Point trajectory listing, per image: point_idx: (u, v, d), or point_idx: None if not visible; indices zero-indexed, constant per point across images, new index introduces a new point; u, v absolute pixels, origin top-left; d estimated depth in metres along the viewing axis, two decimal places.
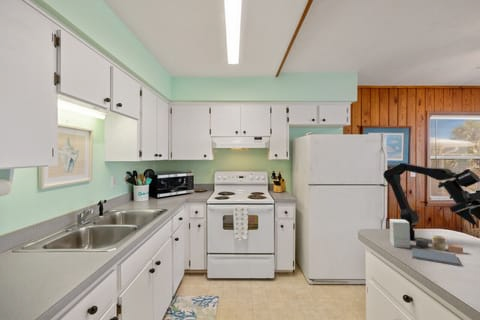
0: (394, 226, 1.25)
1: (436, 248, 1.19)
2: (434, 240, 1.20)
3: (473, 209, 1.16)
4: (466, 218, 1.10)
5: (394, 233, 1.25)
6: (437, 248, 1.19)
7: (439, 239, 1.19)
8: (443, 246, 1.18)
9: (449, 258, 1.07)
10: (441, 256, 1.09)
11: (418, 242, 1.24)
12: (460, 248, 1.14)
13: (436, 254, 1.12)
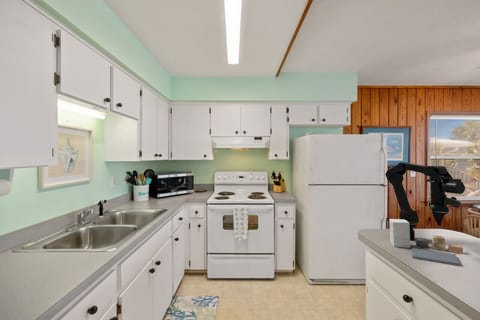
0: (394, 226, 1.25)
1: (436, 248, 1.19)
2: (434, 240, 1.20)
3: None
4: (436, 218, 1.16)
5: (394, 233, 1.25)
6: (437, 248, 1.19)
7: (439, 239, 1.19)
8: (443, 246, 1.18)
9: (449, 258, 1.07)
10: (441, 256, 1.09)
11: (418, 242, 1.24)
12: (460, 248, 1.14)
13: (436, 254, 1.12)
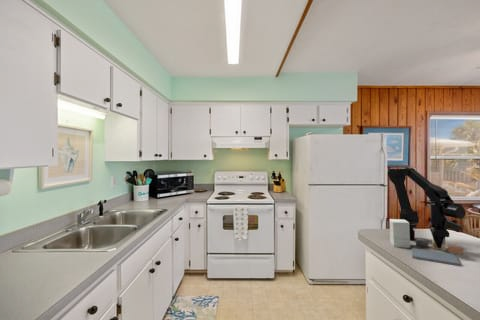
0: (394, 226, 1.25)
1: (436, 248, 1.19)
2: (434, 240, 1.20)
3: None
4: (436, 241, 1.18)
5: (394, 233, 1.25)
6: (437, 248, 1.19)
7: None
8: (443, 246, 1.18)
9: (449, 258, 1.07)
10: (441, 256, 1.09)
11: (418, 242, 1.24)
12: (460, 248, 1.14)
13: (436, 254, 1.12)
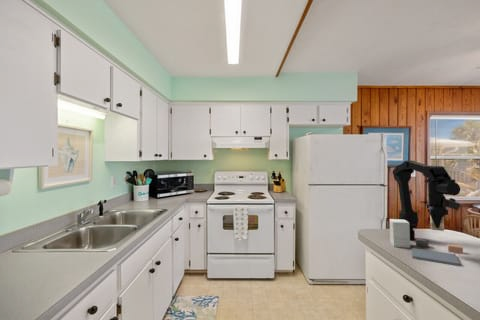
0: (394, 226, 1.25)
1: (434, 228, 1.14)
2: (432, 220, 1.15)
3: None
4: (435, 220, 1.13)
5: (394, 233, 1.25)
6: (435, 228, 1.14)
7: None
8: (442, 225, 1.13)
9: (449, 258, 1.07)
10: (441, 256, 1.09)
11: (418, 242, 1.24)
12: (460, 248, 1.14)
13: (436, 254, 1.12)
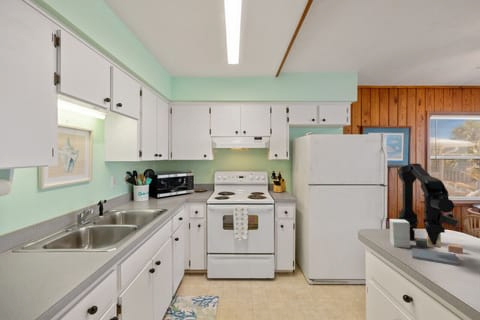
0: (394, 226, 1.25)
1: (431, 245, 1.09)
2: (428, 236, 1.10)
3: None
4: (431, 237, 1.08)
5: (394, 233, 1.25)
6: (432, 244, 1.09)
7: None
8: (438, 242, 1.08)
9: (449, 258, 1.07)
10: (441, 256, 1.09)
11: (418, 242, 1.24)
12: (460, 248, 1.14)
13: (436, 254, 1.12)
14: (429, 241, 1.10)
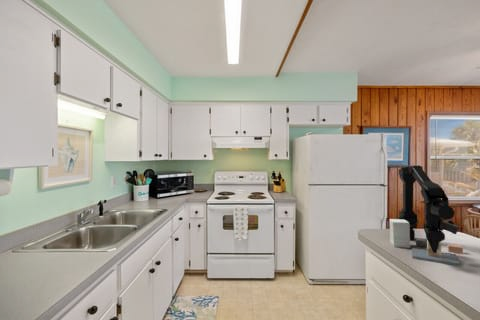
0: (394, 226, 1.25)
1: (431, 254, 1.09)
2: (429, 245, 1.10)
3: None
4: (432, 245, 1.06)
5: (394, 233, 1.25)
6: (432, 254, 1.09)
7: None
8: (439, 252, 1.08)
9: (449, 258, 1.07)
10: (441, 256, 1.09)
11: (418, 242, 1.24)
12: (460, 248, 1.14)
13: None
14: (429, 250, 1.10)
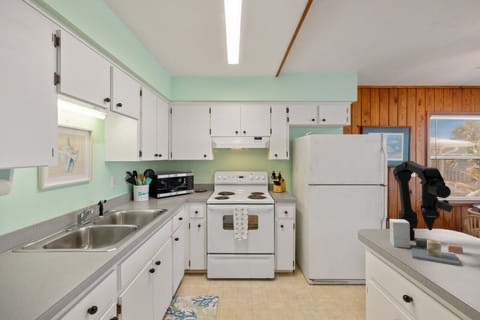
0: (394, 226, 1.25)
1: (431, 254, 1.09)
2: (429, 245, 1.10)
3: None
4: (427, 223, 1.12)
5: (394, 233, 1.25)
6: (432, 254, 1.09)
7: (434, 244, 1.09)
8: (439, 252, 1.08)
9: (449, 258, 1.07)
10: (441, 256, 1.09)
11: (418, 242, 1.24)
12: (460, 248, 1.14)
13: None
14: (429, 250, 1.10)
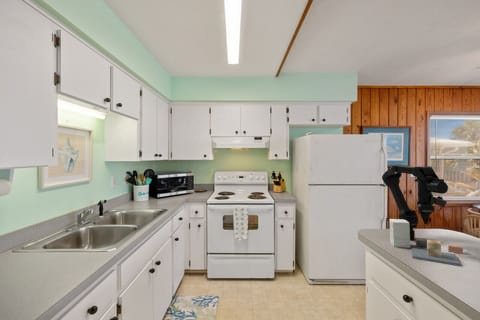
0: (394, 226, 1.25)
1: (431, 254, 1.09)
2: (429, 245, 1.10)
3: None
4: (423, 217, 1.21)
5: (394, 233, 1.25)
6: (432, 254, 1.09)
7: (434, 244, 1.09)
8: (439, 252, 1.08)
9: (449, 258, 1.07)
10: (441, 256, 1.09)
11: (418, 242, 1.24)
12: (460, 248, 1.14)
13: None
14: (429, 250, 1.10)
